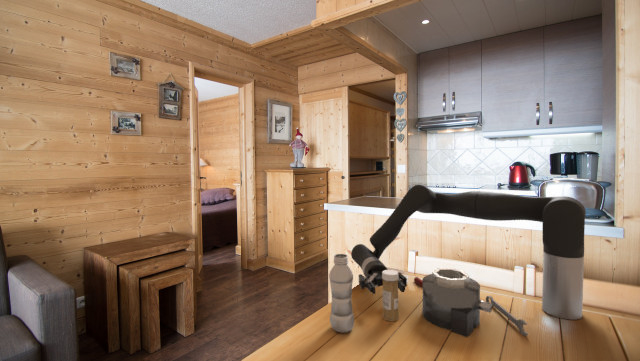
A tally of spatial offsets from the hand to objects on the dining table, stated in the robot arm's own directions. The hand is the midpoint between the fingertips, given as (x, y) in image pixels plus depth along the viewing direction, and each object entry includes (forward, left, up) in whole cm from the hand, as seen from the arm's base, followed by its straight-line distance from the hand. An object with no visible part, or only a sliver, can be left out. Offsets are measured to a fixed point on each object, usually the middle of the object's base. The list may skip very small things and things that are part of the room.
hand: (388, 289), depth 92 cm
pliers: (-26, +2, -8) cm, 27 cm away
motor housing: (-11, +15, -7) cm, 20 cm away
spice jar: (+1, +1, -8) cm, 8 cm away
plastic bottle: (+15, -5, -8) cm, 18 cm away
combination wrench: (-20, +25, -8) cm, 33 cm away
